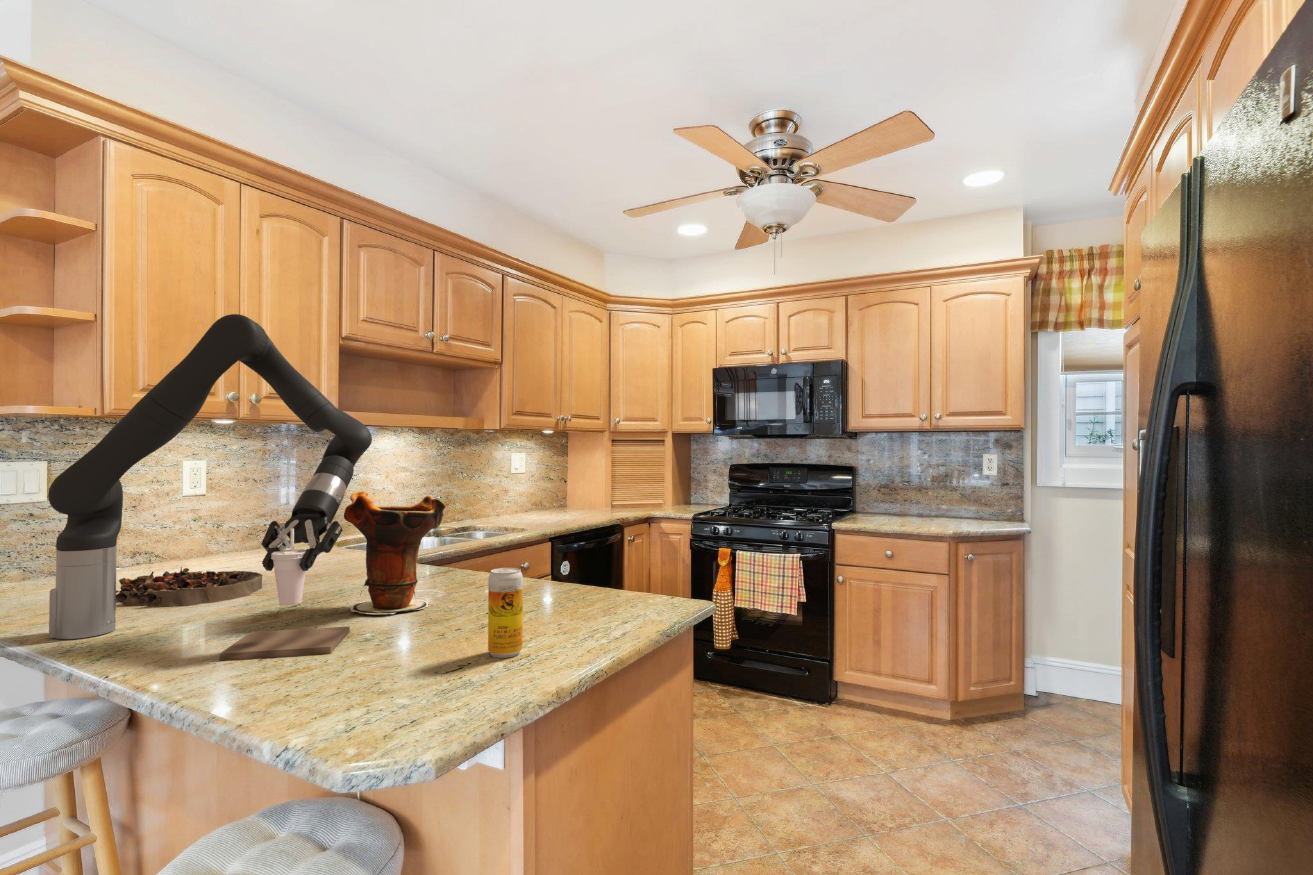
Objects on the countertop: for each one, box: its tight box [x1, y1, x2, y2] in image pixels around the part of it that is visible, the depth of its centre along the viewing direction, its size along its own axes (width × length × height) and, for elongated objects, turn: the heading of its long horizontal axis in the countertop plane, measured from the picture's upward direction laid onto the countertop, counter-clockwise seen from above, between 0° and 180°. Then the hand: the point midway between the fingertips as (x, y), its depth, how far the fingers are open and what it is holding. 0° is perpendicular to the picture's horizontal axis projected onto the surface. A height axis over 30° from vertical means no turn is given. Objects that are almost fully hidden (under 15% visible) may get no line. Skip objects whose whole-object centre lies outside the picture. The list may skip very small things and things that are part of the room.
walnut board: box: [218, 626, 351, 661], centre depth 123 cm, size 18×14×1 cm
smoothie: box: [271, 529, 307, 606], centre depth 123 cm, size 6×6×14 cm
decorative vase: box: [343, 490, 446, 615], centre depth 153 cm, size 20×22×27 cm
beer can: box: [487, 567, 524, 659], centre depth 118 cm, size 6×6×15 cm
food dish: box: [116, 566, 264, 608], centre depth 169 cm, size 35×33×8 cm
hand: (285, 568), depth 122 cm, fingers closed on smoothie, 6 cm apart
